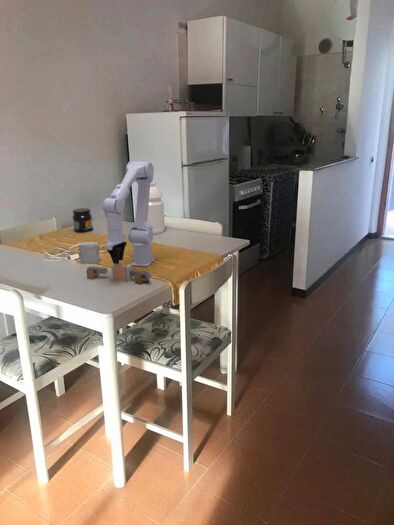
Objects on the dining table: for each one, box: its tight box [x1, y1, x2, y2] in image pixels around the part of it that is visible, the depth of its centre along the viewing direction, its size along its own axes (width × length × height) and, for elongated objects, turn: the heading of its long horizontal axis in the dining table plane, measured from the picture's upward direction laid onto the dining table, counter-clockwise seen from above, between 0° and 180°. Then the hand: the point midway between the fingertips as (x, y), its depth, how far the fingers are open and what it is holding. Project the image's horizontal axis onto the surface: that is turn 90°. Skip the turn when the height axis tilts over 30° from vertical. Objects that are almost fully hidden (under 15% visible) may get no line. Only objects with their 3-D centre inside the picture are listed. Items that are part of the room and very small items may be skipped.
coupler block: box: [111, 262, 133, 282], centre depth 171 cm, size 4×7×6 cm, turn 78°
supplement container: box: [72, 207, 94, 234], centre depth 241 cm, size 10×10×12 cm
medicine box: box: [78, 241, 101, 264], centre depth 191 cm, size 8×4×9 cm, turn 92°
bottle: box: [138, 180, 166, 235], centre depth 233 cm, size 14×14×28 cm
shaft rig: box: [86, 265, 152, 285], centre depth 171 cm, size 7×28×4 cm, turn 77°
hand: (118, 261), depth 170 cm, fingers open, 3 cm apart
